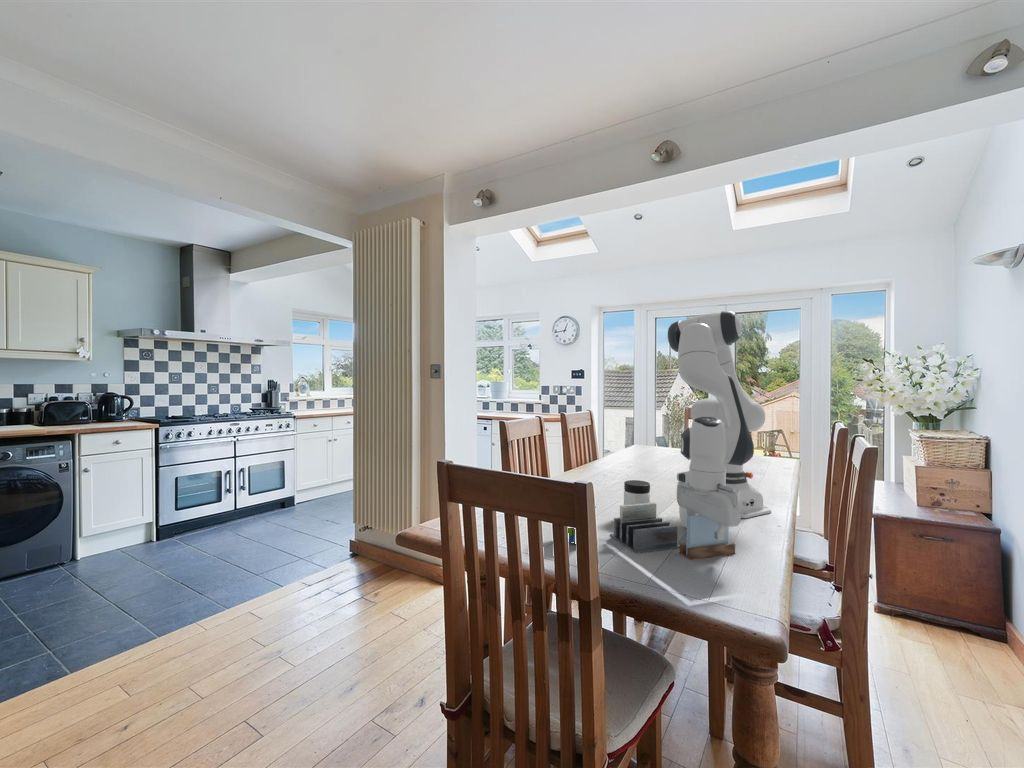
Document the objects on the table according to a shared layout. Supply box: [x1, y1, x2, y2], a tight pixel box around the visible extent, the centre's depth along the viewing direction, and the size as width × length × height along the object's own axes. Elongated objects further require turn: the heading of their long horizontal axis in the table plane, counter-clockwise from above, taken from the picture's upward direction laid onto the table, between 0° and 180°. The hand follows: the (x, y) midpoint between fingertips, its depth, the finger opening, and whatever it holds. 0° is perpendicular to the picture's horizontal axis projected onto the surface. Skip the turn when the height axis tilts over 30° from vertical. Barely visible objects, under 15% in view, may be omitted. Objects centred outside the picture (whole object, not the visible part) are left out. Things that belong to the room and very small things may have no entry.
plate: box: [686, 515, 730, 555], centre depth 121 cm, size 12×1×10 cm, turn 107°
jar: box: [623, 479, 651, 505], centre depth 151 cm, size 9×8×12 cm
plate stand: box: [678, 542, 737, 561], centre depth 121 cm, size 14×5×3 cm, turn 107°
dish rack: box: [609, 502, 680, 554], centre depth 129 cm, size 14×14×10 cm
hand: (706, 532), depth 121 cm, fingers open, 8 cm apart
